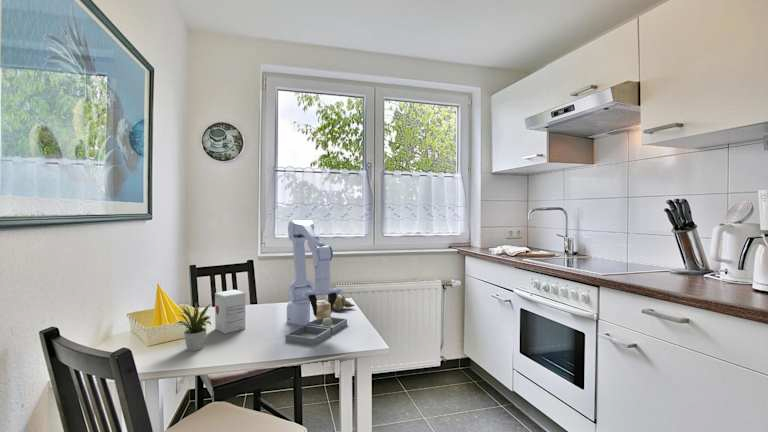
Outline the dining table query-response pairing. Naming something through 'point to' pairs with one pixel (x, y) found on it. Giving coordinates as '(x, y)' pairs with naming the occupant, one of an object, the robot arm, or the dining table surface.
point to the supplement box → (229, 311)
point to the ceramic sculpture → (340, 302)
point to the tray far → (336, 325)
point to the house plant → (195, 328)
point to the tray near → (308, 335)
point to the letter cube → (323, 310)
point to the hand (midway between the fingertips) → (322, 314)
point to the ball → (327, 322)
